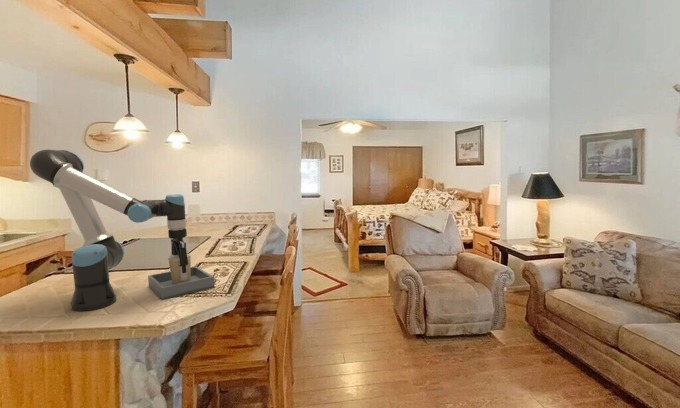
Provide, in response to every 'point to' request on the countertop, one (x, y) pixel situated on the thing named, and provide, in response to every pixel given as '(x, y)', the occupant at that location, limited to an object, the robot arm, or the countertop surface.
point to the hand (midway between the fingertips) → (180, 277)
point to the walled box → (168, 290)
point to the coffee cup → (178, 269)
